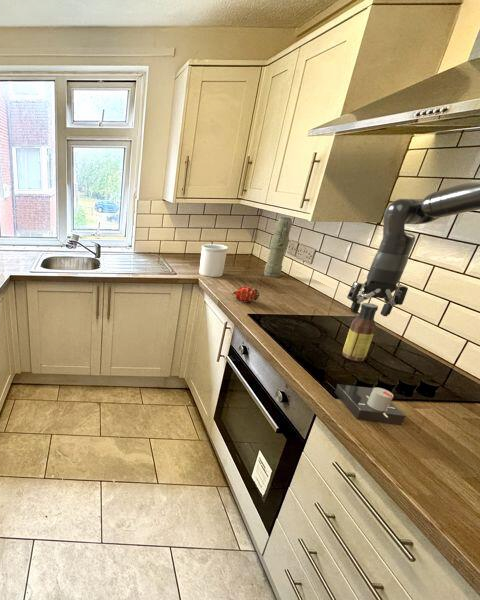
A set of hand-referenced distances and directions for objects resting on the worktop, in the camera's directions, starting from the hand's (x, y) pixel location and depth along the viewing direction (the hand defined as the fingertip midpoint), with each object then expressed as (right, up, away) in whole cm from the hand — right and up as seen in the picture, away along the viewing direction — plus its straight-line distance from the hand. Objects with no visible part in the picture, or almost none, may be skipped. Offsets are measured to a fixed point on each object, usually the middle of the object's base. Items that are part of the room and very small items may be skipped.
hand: (368, 314), depth 103 cm
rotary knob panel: (-16, -25, -17) cm, 34 cm away
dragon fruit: (-13, +4, +53) cm, 55 cm away
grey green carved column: (+24, +20, +93) cm, 98 cm away
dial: (-17, -23, -21) cm, 35 cm away
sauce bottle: (0, -16, +7) cm, 17 cm away
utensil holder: (-13, +21, +95) cm, 98 cm away
